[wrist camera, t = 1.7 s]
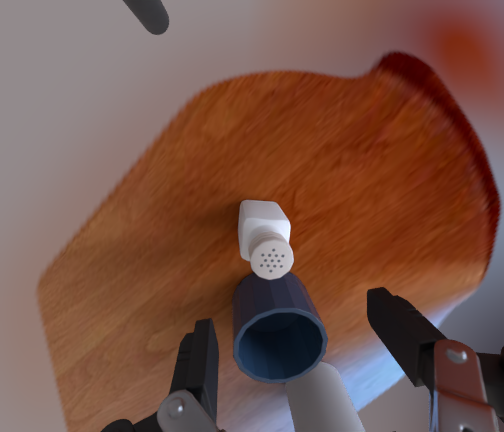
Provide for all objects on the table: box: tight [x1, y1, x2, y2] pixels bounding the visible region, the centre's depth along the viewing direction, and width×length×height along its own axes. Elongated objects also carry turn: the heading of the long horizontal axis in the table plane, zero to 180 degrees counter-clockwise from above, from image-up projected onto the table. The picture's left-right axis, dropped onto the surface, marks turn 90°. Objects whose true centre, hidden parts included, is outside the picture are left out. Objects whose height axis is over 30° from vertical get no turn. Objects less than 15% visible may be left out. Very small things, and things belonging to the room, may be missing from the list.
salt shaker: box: [238, 200, 294, 280], centre depth 23 cm, size 4×4×10 cm
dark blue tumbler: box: [232, 272, 328, 383], centre depth 28 cm, size 9×9×7 cm
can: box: [286, 361, 365, 432], centre depth 30 cm, size 8×8×12 cm
